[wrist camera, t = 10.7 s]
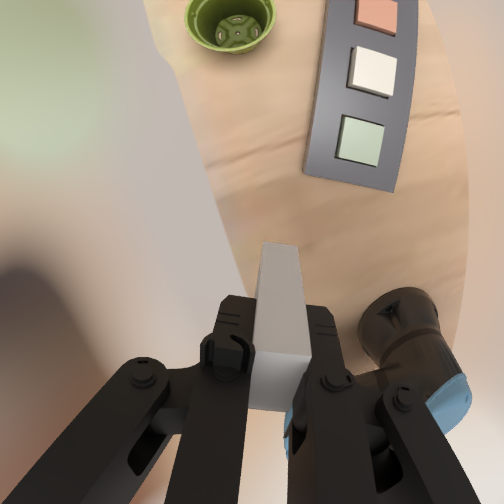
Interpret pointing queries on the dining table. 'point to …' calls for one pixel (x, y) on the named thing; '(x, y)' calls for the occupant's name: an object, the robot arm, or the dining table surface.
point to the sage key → (359, 141)
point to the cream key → (372, 72)
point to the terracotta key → (376, 15)
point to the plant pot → (229, 23)
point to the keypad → (361, 96)
